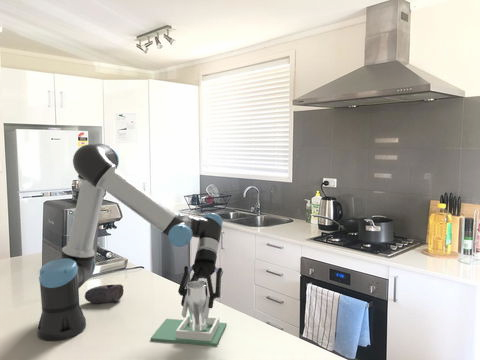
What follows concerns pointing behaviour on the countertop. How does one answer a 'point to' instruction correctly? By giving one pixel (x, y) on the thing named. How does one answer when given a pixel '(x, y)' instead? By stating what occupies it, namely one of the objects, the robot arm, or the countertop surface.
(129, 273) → the countertop surface
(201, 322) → the beer glass
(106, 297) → the perforated stone tool
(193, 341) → the green board with frame
